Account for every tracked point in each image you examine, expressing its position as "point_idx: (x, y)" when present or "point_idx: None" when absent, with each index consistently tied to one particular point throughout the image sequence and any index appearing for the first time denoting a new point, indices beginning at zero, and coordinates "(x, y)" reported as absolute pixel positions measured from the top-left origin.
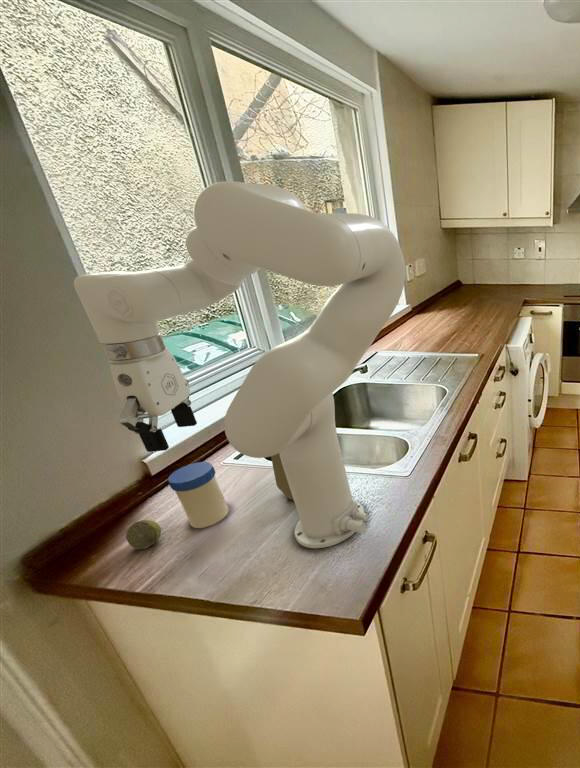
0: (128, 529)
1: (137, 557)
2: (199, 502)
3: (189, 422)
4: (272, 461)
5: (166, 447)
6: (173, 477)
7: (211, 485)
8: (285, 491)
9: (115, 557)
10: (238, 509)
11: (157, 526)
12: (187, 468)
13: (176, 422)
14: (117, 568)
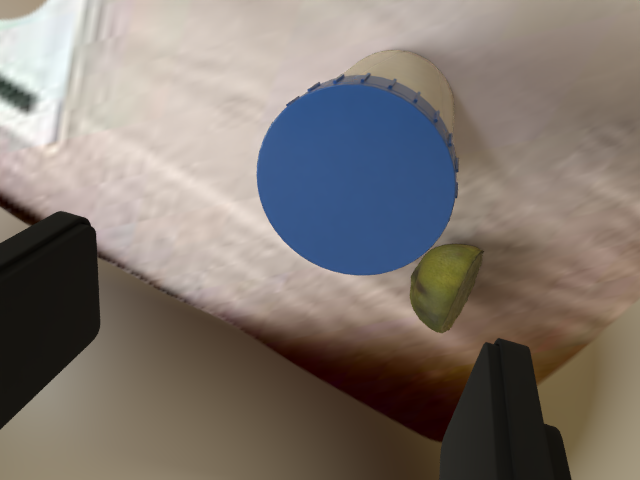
0: (442, 331)
1: (509, 280)
2: (451, 131)
3: (73, 266)
4: None
5: (528, 357)
6: (371, 255)
7: (405, 85)
8: None
9: (472, 330)
10: (392, 11)
11: (453, 257)
12: (304, 211)
13: (70, 358)
14: (533, 315)
